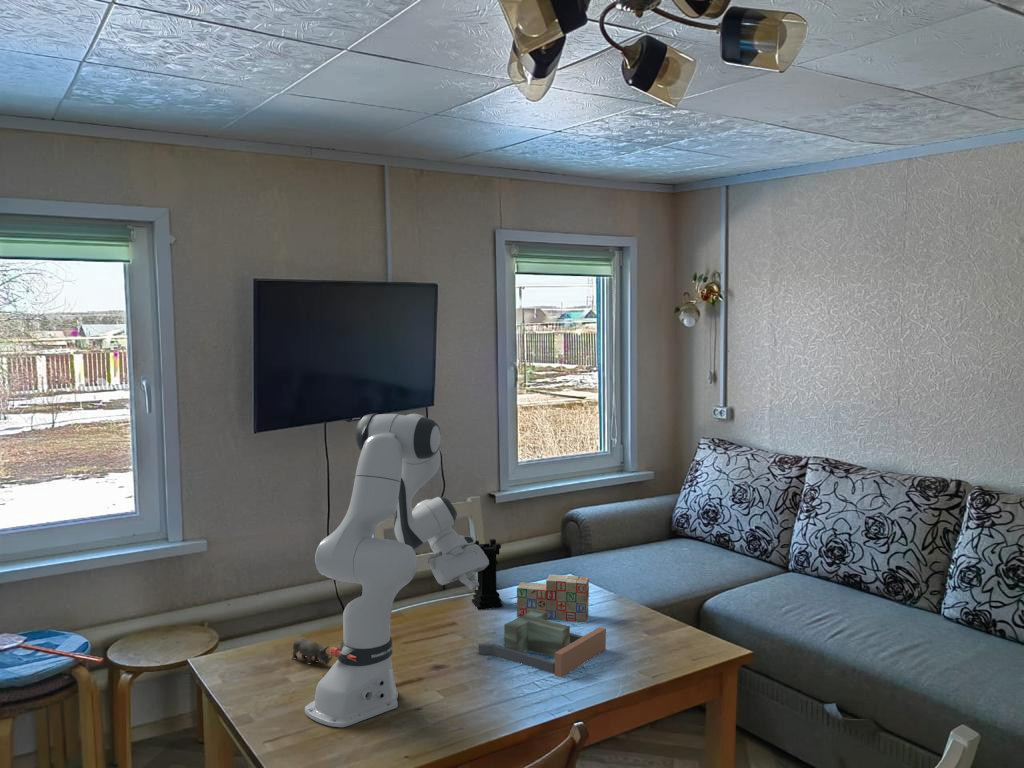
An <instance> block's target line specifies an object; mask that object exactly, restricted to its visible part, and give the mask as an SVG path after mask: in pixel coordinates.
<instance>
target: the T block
mask: <svg viewBox="0 0 1024 768" xmlns="http://www.w3.org/2000/svg"><path fill="white" fill-rule="evenodd" d="M503 627H504V629H503V631H504V632H503V633H504V634H503V635H504V637H503V638H504V639H503V641H504V643H503V647H506V648H509V649H512V650H516V651H519V652H522V653H525V652H528V651H529V652H532V653H533V652H534V653H537V654H541V655H543V656H546V657H550V658H554V659H555V652H557V651H559V650H560V649H562V648H564V647H566V646H567V645H569V644H571V643H570V633H571V631H570V630H571V627H570V625H566V624H562V623H559V622H557V621H556V622H555V621H553V620H548V612H546V611H542V610H538V609H535V610H533V611H531V612H529V613H527V614H525V615H523V616H521V617H517V618H515V619H512V620H510V621H508V622H507V623H504V625H503Z"/></svg>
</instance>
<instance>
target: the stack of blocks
mask: <svg viewBox="0 0 1024 768" xmlns="http://www.w3.org/2000/svg"><path fill="white" fill-rule="evenodd" d="M589 578H590V577H586V576H585V577H584V576H579V575H565V574H552V573H551V574H548V577H547V578H546V580H545V581H546V582H545V583H543V582H542V583H541V582H529V581H521V582H519V584H518V586H517V588H516V617H517V618H519V617H521V616H523V615H525V614H527V613H529V612H531V611H533V610H535V609H538V610H542V611H546V612H548V621H563V622H573V623H574V622H575V623H583V622H586V623H587V621H588V618H589V604H590V603H589V599H590V598H589V596H590V595H589V594H590V591H589V590H590V586H589V585H590V579H589ZM587 617H588V618H587ZM586 620H587V621H586Z"/></svg>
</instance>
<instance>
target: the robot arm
mask: <svg viewBox="0 0 1024 768" xmlns="http://www.w3.org/2000/svg"><path fill="white" fill-rule="evenodd" d="M441 436H442V435H441V428H440V426H439V424H438V423H437V422H436V421H435V420H434V419H431V418H429V417H425V416H424V415H422V414H418V413H409V414H405V415H404V414H400V413H382V414H381V413H380V414H379V413H369V414H366V415H365V414H364V415H363V417H362V418H361V419H360V420H359V421H358V423H357V424H356V429H355V443H356V445H357V446H358V449H359V451H360V453H359V454H360V455H359V458H358V461H357V465H356V471H355V477H354V481H353V487H352V492H351V498H350V502H349V506H348V509H347V511H346V514H345V516H344V517H343V519H342V521H341V523H340V524H339V525H338V526H337V528H335V530H334V531H332V532H331V534H329V535H328V536H327V535H326V536H325V538H323V539H322V540H321V541H320V543H319V544H318V546H317V547H316V550H315V554H314V563H315V567H316V570H317V571H318V573H319V574H320V575H321V576H324V577H327V578H328V579H331V580H334V581H337V582H343V583H349V584H360V585H361V586H362V589H361V590H362V591H361V595H360V596H358V597H356V598H354V599H353V600H351V601H350V602H348V603H347V605H346V606H345V608H344V610H343V612H342V624H343V625H342V626H343V627H342V629H343V630H342V633H343V634H342V636H343V640H342V641H341V644H340V647H339V648H338V647H335V646H331V647H329V650H328V653H329V654H328V655H329V656H330V657H331V656H332V657H334V658H337V660H336V661H335V662H334V664H333V665H332V666H331V667H330V668H329V670H328V671H327V672H325V675H323V677H322V678H321V679H320V681H319V682H318V683H317V685H316V689H315V693H314V695H315V696H314V700H313V701H311V702H310V703H307V705H305V707H304V714H305V715H306V716H307V717H308V718H310V719H311V720H313V721H314V722H317V723H320V724H322V725H325V726H329V727H334V728H345V727H349V726H351V725H354V724H357V723H359V722H361V721H362V722H363V721H364V720H367V719H370V718H372V717H376V716H377V715H381V714H384V713H385V712H389V711H391V710H394V709H397V708H398V706H399V704H398V697H399V693H398V689H397V686H396V682H395V678H394V671H393V663H392V655H393V638H392V636H391V615H392V607H393V603H394V600H395V598H396V597H397V595H398V593H399V592H400V591H401V590H402V589H403V588H404V587H406V586H407V585H408V584H409V583H410V582H411V581H412V580H413V578H414V576H415V575H416V571H417V570H418V569H417V568H418V558H417V557H418V556H417V554H416V552H415V550H416V549H418V548H419V547H420V546H422V545H423V544H424V543H427V542H428V543H429V547H430V549H431V550H432V552H433V554H430V555H429V556H428V558H427V563H428V565H429V566H430V570H431V573H432V574H433V576H434V578H435V580H436V582H437V583H438V584H439V585H441V586H444V585H447V584H450V583H452V582H455V581H457V580H459V581H460V583H462V584H463V585H464V586H466V587H467V588H468V590H469V591H472V590H476V589H478V586H479V583H478V577H477V573H478V572H479V571H482V570H484V569H485V568H486V567H487V566H488V565H489V560H488V558H487V556H486V555H485V553H484V552H483V550H482V549H481V548H480V547H479V546H478V545H477V544H474V543H475V542H476V539H475V537H474V536H471V535H469V536H468V535H467V536H466V535H461V534H458V533H457V531H456V530H454V528H452V526H453V525H454V524H455V523H456V520H457V516H458V513H457V510H456V508H455V507H454V506H453V504H452V503H451V501H450V499H449V498H446V497H444V496H436V497H434V498H432V499H429V498H428V499H423V500H421V501H420V502H418V503H417V504H416V505H415V506H414V508H413V507H412V505H413V504H412V500H413V498H414V496H415V495H416V493H417V492H418V491H419V490H420V489H421V488H422V487H423V486H424V485H425V484H426V483H427V482H429V481H430V480H431V479H432V478H433V477H434V476H435V475H436V474H437V472H438V471H439V469H440V466H441V460H442V459H441V451H440V446H441V445H440V444H441ZM393 517H394V523H393V532H394V535H395V538H396V540H395V539H387V538H378V537H374V536H373V535H374V533H375V532H376V529H377V528H378V526H380V525H381V524H382V523H385V522H386V521H388V520H390V519H392V518H393Z"/></svg>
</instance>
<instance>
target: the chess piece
mask: <svg viewBox="0 0 1024 768" xmlns="http://www.w3.org/2000/svg"><path fill="white" fill-rule="evenodd" d="M475 541H476V542H475V543H474V544H477V545H478V546H479V547H480V548H481V549H482V550H483V552H484V553H485V555H486V556H487V558H488V560H489V565H488V566H487V567H486V568H485V569H484V570H482V571H479V572H477V581H478V583H479V586H478V587H477V589H474V594H473V595H472V597H473V599H471V602H472V604H473V605H474V606H475V608H476V607H477V608H476V609H477V610H478V611H480V610H479V609H482V610H488V609H489V608H491V609H499V607H500V608H503V603H502V599H501V597H500V595H501V594H500V593H499V592H498V591H497V565H498V564H499V562H498V560H497V556H498V555H500V549H501V548H502V544H501V543H499V542H498V543H497V540H496V539H495V538H490V539H489V543H488V542H487V543H480V541H479V540H476V539H475ZM486 608H487V609H486ZM489 610H490V609H489Z"/></svg>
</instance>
